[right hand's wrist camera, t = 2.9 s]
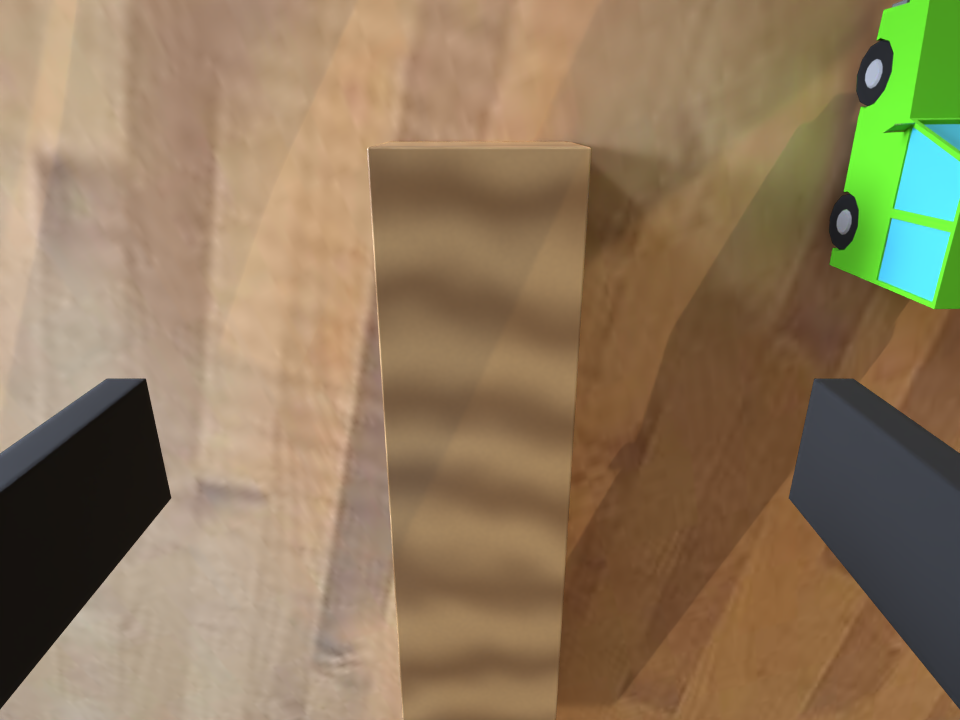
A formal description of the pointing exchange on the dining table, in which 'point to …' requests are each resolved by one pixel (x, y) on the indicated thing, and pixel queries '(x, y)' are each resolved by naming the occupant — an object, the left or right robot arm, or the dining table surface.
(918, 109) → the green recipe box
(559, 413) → the wide beam
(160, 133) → the dining table surface
